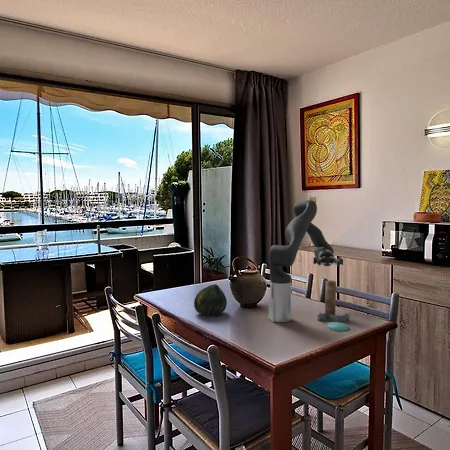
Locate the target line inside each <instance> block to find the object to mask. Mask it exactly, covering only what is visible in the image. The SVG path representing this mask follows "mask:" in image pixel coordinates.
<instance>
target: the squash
mask: <svg viewBox="0 0 450 450" xmlns="http://www.w3.org/2000/svg"><path fill="white" fill-rule="evenodd" d="M193 302H194V303H193V304H194V306H193V307H194V309H195V311H196V312H197V313H198V314H200V315H202V316H205V315H208V316H210V315H214V316H219V315H221V314H222V313H224V311H225V310H226V308H227V305H228V302H227V297H226V294H225V292H224V291H223V290H222V288H221V287H220V286H219V285H218V284H216V283H214V284H211V285H210V284H209V285H208V286H206V287H204V288H202V289H201V290H199V291H198V292H197V294H196V295H195V297H194V301H193Z"/></svg>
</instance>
